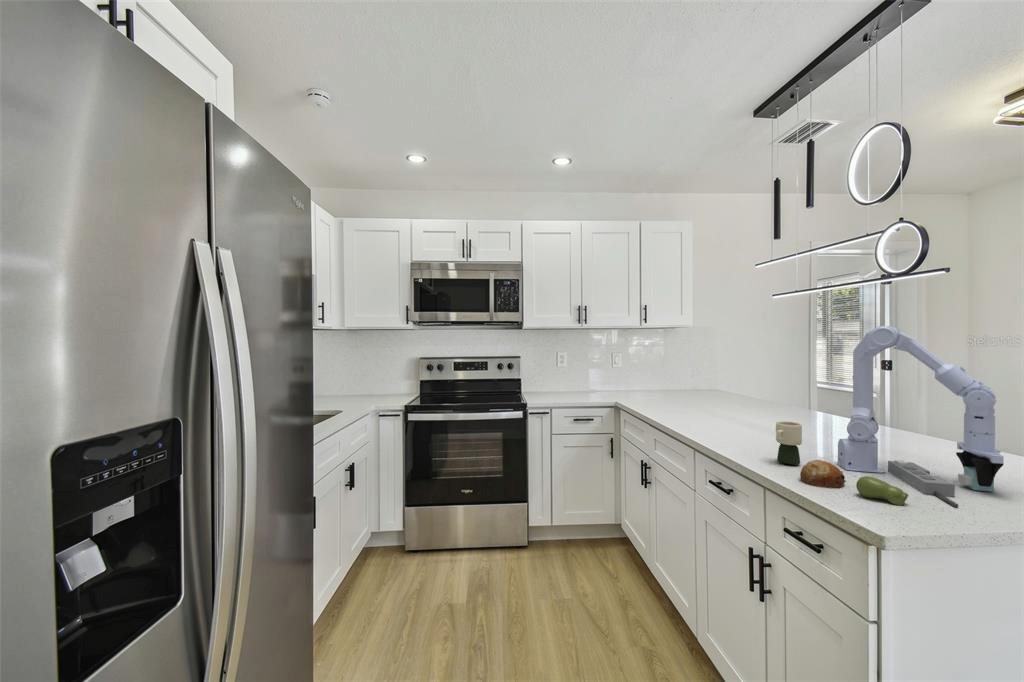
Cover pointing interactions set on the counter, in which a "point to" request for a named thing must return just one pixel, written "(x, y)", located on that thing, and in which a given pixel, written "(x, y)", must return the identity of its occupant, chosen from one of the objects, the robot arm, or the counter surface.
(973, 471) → the block
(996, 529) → the counter surface
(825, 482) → the bread roll
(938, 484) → the power strip
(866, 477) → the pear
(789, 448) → the character mug
